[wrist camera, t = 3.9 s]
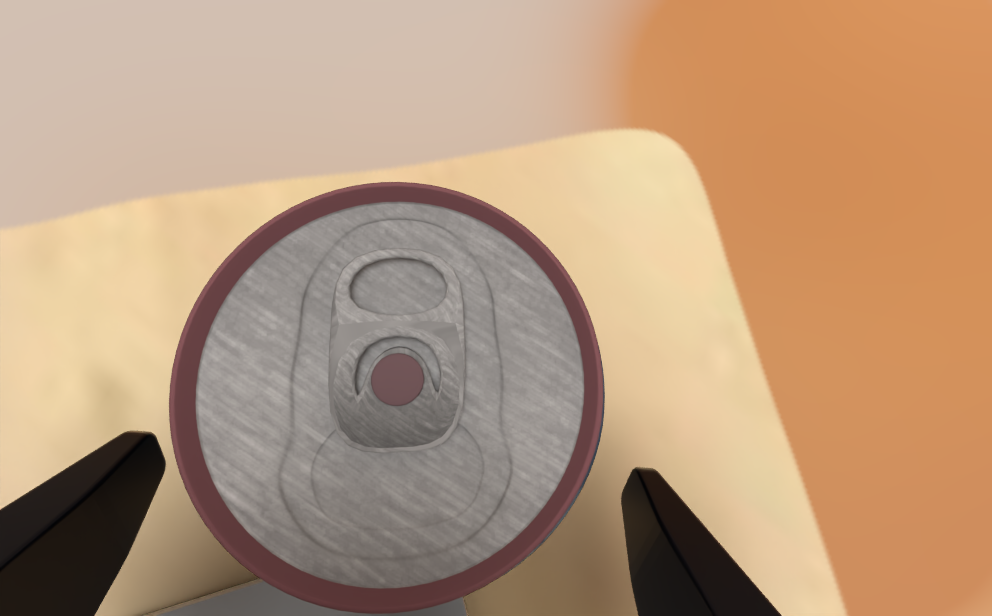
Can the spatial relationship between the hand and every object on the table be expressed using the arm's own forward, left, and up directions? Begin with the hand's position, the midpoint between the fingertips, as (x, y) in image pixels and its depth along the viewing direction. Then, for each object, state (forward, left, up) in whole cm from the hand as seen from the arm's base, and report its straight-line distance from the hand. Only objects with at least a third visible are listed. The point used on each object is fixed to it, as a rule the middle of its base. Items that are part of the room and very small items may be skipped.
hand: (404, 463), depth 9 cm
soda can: (+1, -1, -9) cm, 9 cm away
